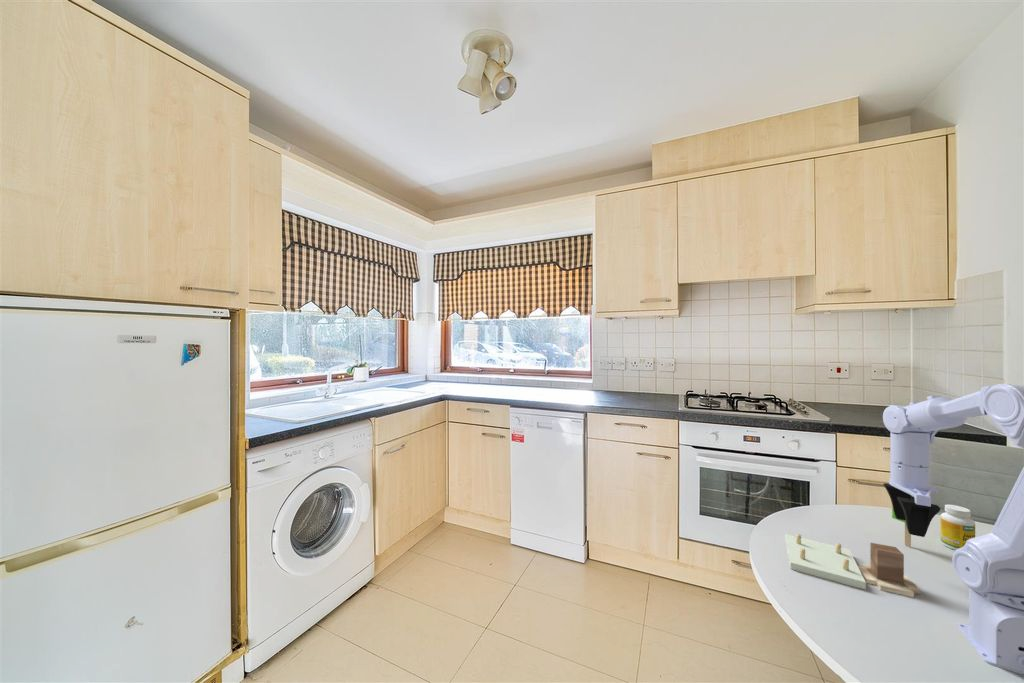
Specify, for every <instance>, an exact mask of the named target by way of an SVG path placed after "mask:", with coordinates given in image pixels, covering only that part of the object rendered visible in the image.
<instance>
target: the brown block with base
mask: <svg viewBox="0 0 1024 683" xmlns="http://www.w3.org/2000/svg"><path fill="white" fill-rule="evenodd" d="M869 547H870V558H869V559H870V560H869V561H870V563H869V564H866V563H862V565H861V566H859V565H857V566H858V568H859V570H860V572H861V574H862V576H863V578H864V580H865V582H866V584H869V585H873V586H877V587H878V589H879V590H880V591H884V592H889V593H892V594H898V595H901V596H907V597H911V598H914V597H915V594H916V595H921V590H920V588H919V587H918V586H917V585H916V584H915V583H914V582H913V581H912V580H911V579H910V578H909V577H908V576H907V575H906V574H905V566H904V565H905V562H904V561H905V560H904V559H905V556H904V554H903V553H902V551H900V550H899V548H897V546H892V545H885V544H881V543H875V542H870V546H869Z"/></svg>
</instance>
